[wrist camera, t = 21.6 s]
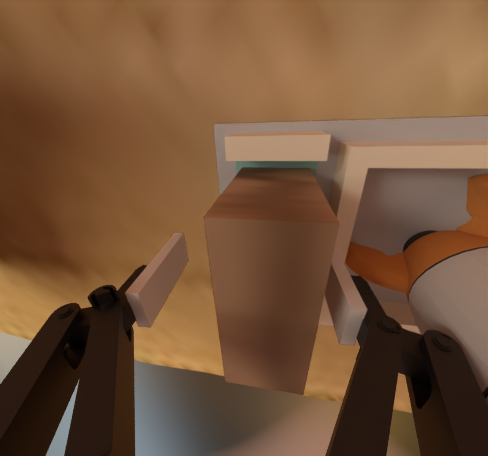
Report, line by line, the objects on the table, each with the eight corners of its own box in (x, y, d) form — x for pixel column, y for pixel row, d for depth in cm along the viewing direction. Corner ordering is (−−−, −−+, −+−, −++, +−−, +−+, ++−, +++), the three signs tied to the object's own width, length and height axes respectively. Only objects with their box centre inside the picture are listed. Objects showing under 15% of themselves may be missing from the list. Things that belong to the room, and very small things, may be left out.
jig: (231, 296, 24) (222, 326, 21) (217, 123, 16) (198, 126, 12) (470, 320, 20) (509, 362, 17) (622, 111, 12) (761, 109, 8)
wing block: (245, 285, 22) (225, 381, 14) (242, 167, 16) (203, 217, 8) (295, 289, 21) (303, 394, 13) (309, 167, 15) (339, 223, 7)
